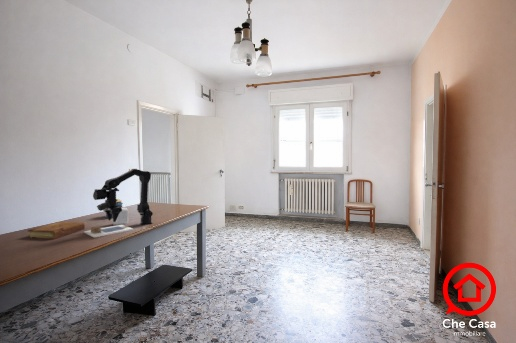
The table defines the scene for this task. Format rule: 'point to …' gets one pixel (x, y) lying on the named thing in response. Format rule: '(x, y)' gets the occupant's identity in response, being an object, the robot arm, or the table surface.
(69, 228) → the diary
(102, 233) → the blueprint board
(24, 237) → the table surface
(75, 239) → the table surface
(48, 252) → the table surface
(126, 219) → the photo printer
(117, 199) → the canister
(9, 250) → the table surface
